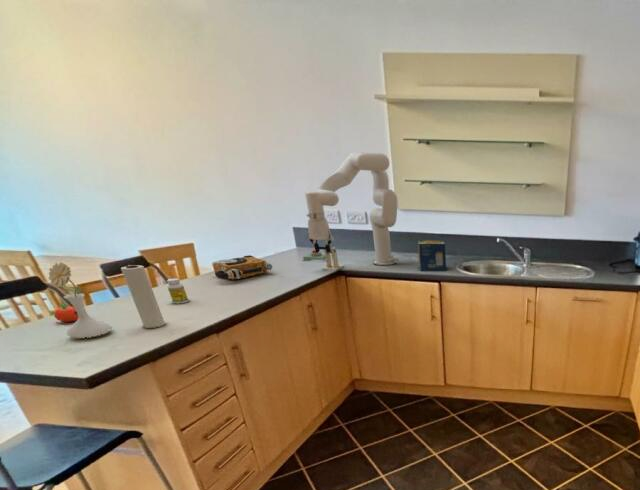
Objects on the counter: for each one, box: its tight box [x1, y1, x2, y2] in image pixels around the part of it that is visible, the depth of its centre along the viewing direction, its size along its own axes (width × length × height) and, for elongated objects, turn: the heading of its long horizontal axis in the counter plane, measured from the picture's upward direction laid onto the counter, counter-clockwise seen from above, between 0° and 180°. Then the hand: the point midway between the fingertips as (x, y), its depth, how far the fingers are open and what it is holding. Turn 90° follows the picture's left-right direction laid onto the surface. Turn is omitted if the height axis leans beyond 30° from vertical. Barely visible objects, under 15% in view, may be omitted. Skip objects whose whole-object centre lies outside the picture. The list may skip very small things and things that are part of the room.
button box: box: [302, 251, 326, 262], centre depth 260 cm, size 12×10×4 cm
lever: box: [317, 246, 332, 255], centre depth 231 cm, size 12×5×2 cm, turn 179°
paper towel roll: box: [120, 264, 165, 329], centre depth 147 cm, size 7×6×21 cm
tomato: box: [53, 303, 78, 323], centre depth 152 cm, size 7×8×6 cm
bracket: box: [322, 246, 344, 270], centre depth 237 cm, size 10×8×12 cm
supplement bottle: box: [166, 277, 189, 304], centre depth 175 cm, size 5×5×10 cm
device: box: [211, 254, 273, 280], centre depth 216 cm, size 23×8×30 cm
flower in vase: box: [48, 261, 113, 339], centre depth 136 cm, size 13×11×25 cm
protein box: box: [417, 240, 447, 272], centre depth 245 cm, size 10×15×16 cm
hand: (323, 251), depth 226 cm, fingers closed on lever, 5 cm apart
